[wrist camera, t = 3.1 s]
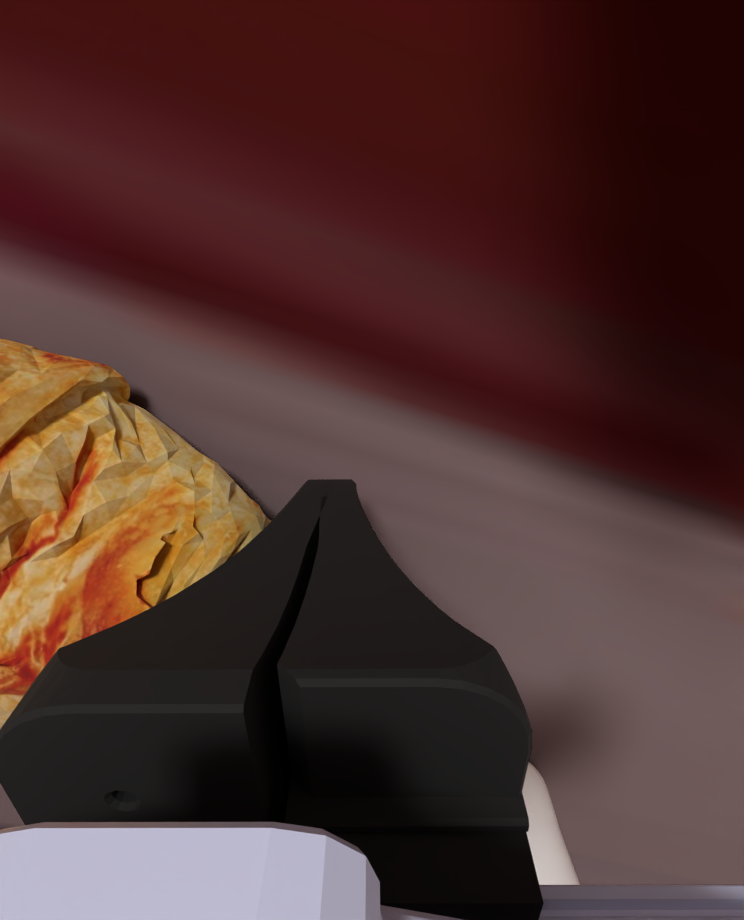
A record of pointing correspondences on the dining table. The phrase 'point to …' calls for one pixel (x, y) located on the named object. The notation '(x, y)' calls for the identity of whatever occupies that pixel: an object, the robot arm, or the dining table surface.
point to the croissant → (96, 510)
